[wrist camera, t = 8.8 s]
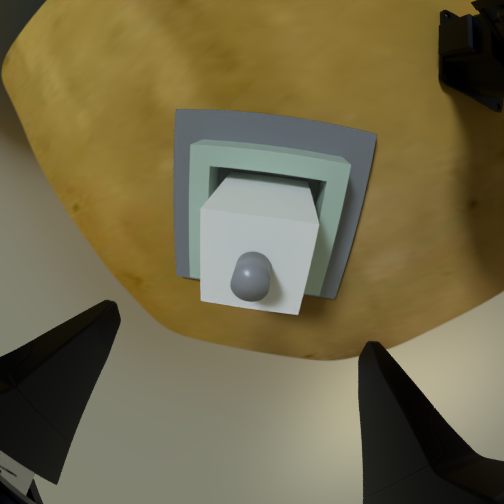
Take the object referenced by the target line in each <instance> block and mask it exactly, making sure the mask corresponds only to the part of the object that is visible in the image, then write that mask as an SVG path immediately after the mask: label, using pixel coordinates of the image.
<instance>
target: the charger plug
mask: <svg viewBox="0 0 504 504" xmlns="http://www.w3.org/2000/svg"><path fill="white" fill-rule="evenodd" d="M318 229H319V221H318V217H317V213H316V209H315V206H314V202H313V198H312V195H311V191H310V188H309V184H308V181H301V180H295V179H288V178H280V177H273V176H265V175H257V174H248V173H238V172H231V173H230V174H229V175H228V176H227V177H226V178H225V180H224V181H223V182H222V183H221V184H220V186H219V187H218V188H217V189H216V190H215V192H214V193H213V194H212V195H211V196H210V198H209V199H208V200H207V201H206V202H205V204H204V205H203V206H202V207H201V209H200V285H201V301H205V302H211V303H217V304H223V305H230V306H236V307H243V308H249V309H256V310H263V311H271V312H278V313H286V314H294V315H298V313H299V309H300V305H301V302H302V298H303V294H304V290H305V286H306V282H307V277H308V273H309V269H310V265H311V260H312V256H313V252H314V247H315V242H316V238H317V233H318Z"/></svg>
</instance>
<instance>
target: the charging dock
mask: <svg viewBox="0 0 504 504" xmlns="http://www.w3.org/2000/svg"><path fill="white" fill-rule="evenodd" d="M376 137H377V134H374V133H370V132H366V131H362V130H358V129H353V128H349V127H344V126H340V125H335V124H330V123H324V122H319V121H313V120H307V119H301V118H294V117H287V116H280V115H272V114H263V113H252V112H241V111H225V110H201V109H176V114H175V135H174V234H175V256H176V273H177V276H180V277H186V278H192V279H198V280H200V209H201V207H202V206H203V205H204V204H205V202H206V201H207V200H208V199H209V198H210V196H211V195H212V194H213V193H214V192H215V190H216V189H217V188H218V187H219V186H220V184H221V183H222V182H223V181H224V180H225V178H226V177H227V176H228V175H229V174H230V173H231V172H238V173H248V174H257V175H265V176H273V177H280V178H288V179H295V180H301V181H308V184H309V188H310V191H311V195H312V198H313V202H314V206H315V209H316V213H317V217H318V221H319V229H318V233H317V238H316V242H315V247H314V252H313V256H312V260H311V265H310V269H309V273H308V277H307V282H306V286H305V290H304V294H303V295H307V296H315V297H323V298H331V299H335V297H336V294H337V291H338V288H339V285H340V282H341V278H342V275H343V272H344V269H345V266H346V262H347V259H348V256H349V252H350V249H351V245H352V242H353V238H354V235H355V231H356V227H357V223H358V220H359V216H360V212H361V208H362V204H363V199H364V195H365V191H366V187H367V182H368V178H369V173H370V168H371V163H372V158H373V153H374V148H375V142H376Z"/></svg>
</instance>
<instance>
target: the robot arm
mask: <svg viewBox="0 0 504 504" xmlns="http://www.w3.org/2000/svg"><path fill="white" fill-rule="evenodd" d="M471 4H472V5H473V6H474V8H475V9H476V10H478V11H479V13H480V14H477V15H474V16H472V15H470V14H467V15H465V16H462V17H459V16H457V15H455V14H453V13H451V12H449V11H448V10H443V11H441V12H440V25H439V55H440V65H439V79H440V81H441V82H442V83H443V84H445V85H447V86H449V87H451V88H453V89H455V90H457V91H459V92H461V93H463V94H465V95H467V96H469V97H471V98H472V99H474V100H476V101H478V102H480V103H481V104H483V105H485V106H486V107H488V108H490V109H491V110H493V111H495V112H498V113H500V112H501V111H502V106H503V99H504V0H476V1H473V2H471ZM445 14H446V15H447V16H448V18H447V17H446V15H445ZM444 76H446V77H447V81H446V80H445V78H444ZM496 105H497V106H496ZM120 322H121V318H120V314H119V310H118V306H117V304H116V302H114V301H110V300H104V301H103V302H101V303H99V304H97V305H95V306H93V307H91V308H89V309H88V310H86V311H84V312H82V313H80V314H78V315H77V316H75V317H73V318H71V319H69V320H68V321H66V322H64V323H62V324H60V325H59V326H57V327H55V328H53V329H51V330H50V331H48V332H46V333H44V334H43V335H41V336H39V337H37V338H36V339H34V340H32V341H30V342H28V343H27V344H25V345H23V346H21V347H20V348H18V349H16V350H14V351H12V352H10V353H8V354H6V355H4V356H1V357H0V504H43V502H42V500H41V497H40V495H39V492H38V489H37V487H36V484H35V481H34V479H33V477H34V475H35V474H37V475H39V476H41V477H42V478H44V479H46V480H48V481H50V482H52V483H53V484H56V485H57V483H58V481H59V477H60V474H61V472H62V468H63V465H64V462H65V460H66V457H67V454H68V451H69V448H70V445H71V442H72V440H73V437H74V434H75V432H76V429H77V427H78V424H79V422H80V419H81V417H82V414H83V412H84V410H85V407H86V405H87V402H88V400H89V398H90V395H91V393H92V391H93V389H94V386H95V384H96V382H97V380H98V377H99V375H100V373H101V371H102V369H103V367H104V364H105V362H106V360H107V358H108V355H109V353H110V350H111V347H112V344H113V342H114V339H115V336H116V334H117V331H118V328H119V326H120ZM358 400H359V411H360V422H361V423H360V424H361V439H362V458H363V504H504V461H499V460H494V459H489V458H485V457H483V456H481V455H479V454H478V453H476V452H475V451H474V450H473V449H472V448H471V447H470V446H469V445H468V444H467V443H466V442H465V441H464V440H463V439H462V438H461V437H460V436H459V435H458V434H457V433H456V432H455V430H454V429H453V428H452V427H451V426H450V425H449V424H448V423H447V422H446V421H445V419H444V418H443V417H442V416H441V415H440V414H439V412H438V411H437V410H436V408H434V406H433V405H432V404H431V403H430V401H429V400H428V399H427V398H426V396H425V395H424V394H423V393H422V391H421V390H420V389H419V388H418V387H417V386H416V384H415V383H414V382H413V381H412V380H411V378H410V377H409V376H408V375H407V374H406V373H405V371H404V370H403V369H402V368H401V367H400V365H399V364H398V363H397V362H396V361H395V360H394V358H393V357H392V356H391V355H390V354H389V353H388V351H387V350H386V349H385V348H384V347H383V346H382V345H381V343H379V342H377V341H368V342H367V343H366V345H365V347H364V349H363V350H362V352H361V354H360V356H359V361H358Z"/></svg>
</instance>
